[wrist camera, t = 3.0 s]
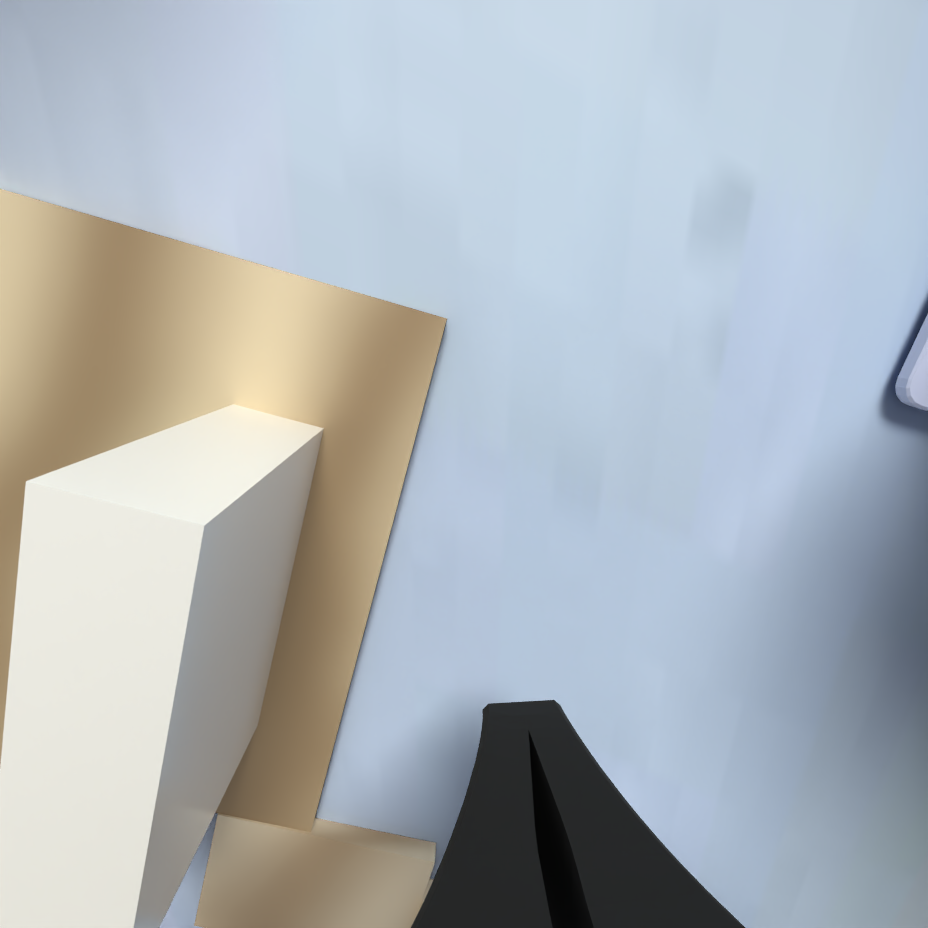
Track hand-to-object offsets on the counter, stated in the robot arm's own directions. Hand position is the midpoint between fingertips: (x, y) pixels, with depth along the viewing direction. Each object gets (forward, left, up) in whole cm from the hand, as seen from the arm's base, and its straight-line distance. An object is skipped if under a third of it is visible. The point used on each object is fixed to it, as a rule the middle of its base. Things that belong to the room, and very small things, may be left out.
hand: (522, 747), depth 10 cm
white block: (+6, 0, -3) cm, 7 cm away
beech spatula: (-1, +9, -4) cm, 10 cm away
